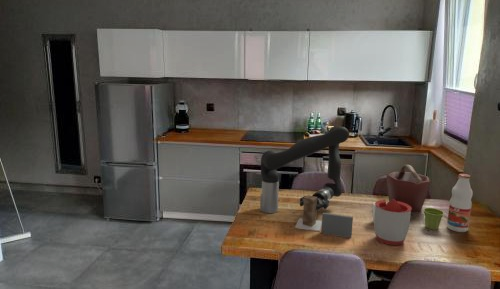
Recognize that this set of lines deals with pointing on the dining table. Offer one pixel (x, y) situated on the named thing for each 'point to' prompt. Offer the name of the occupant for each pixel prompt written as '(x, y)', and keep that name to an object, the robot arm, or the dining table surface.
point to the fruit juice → (460, 205)
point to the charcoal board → (337, 225)
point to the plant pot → (433, 218)
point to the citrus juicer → (391, 221)
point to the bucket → (408, 187)
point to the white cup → (374, 210)
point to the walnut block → (309, 210)
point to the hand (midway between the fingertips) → (308, 206)
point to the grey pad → (315, 227)
